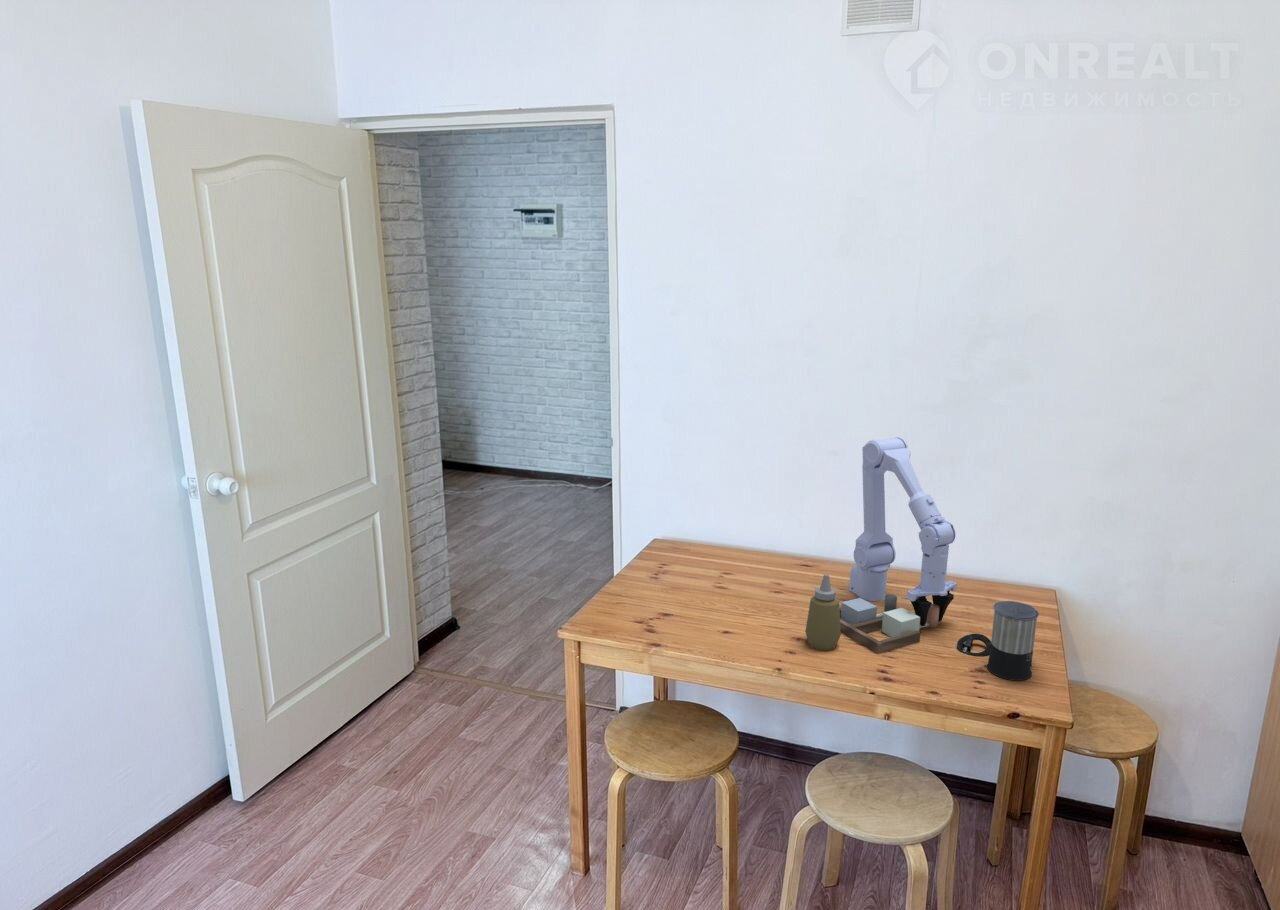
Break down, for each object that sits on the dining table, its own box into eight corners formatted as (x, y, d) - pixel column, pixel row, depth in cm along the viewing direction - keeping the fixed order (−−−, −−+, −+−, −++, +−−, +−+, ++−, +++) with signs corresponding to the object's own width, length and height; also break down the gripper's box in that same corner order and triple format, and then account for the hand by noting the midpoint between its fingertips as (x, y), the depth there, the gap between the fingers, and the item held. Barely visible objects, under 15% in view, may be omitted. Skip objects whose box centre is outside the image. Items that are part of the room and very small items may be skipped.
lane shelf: (821, 624, 204) (822, 611, 203) (904, 602, 216) (905, 591, 216) (877, 657, 187) (878, 644, 186) (964, 632, 200) (965, 619, 199)
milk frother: (1032, 685, 175) (1040, 621, 172) (953, 670, 181) (960, 608, 178) (1030, 656, 188) (1038, 596, 184) (957, 643, 194) (963, 585, 190)
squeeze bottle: (833, 658, 186) (837, 584, 182) (799, 649, 191) (803, 577, 186) (844, 644, 193) (849, 573, 189) (811, 636, 197) (815, 566, 193)
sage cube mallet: (881, 631, 198) (883, 612, 197) (926, 619, 205) (928, 600, 203) (899, 641, 193) (901, 622, 191) (945, 628, 199) (947, 609, 198)
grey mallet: (840, 620, 204) (841, 602, 202) (885, 609, 210) (886, 591, 209) (856, 630, 198) (858, 611, 197) (902, 618, 205) (904, 599, 204)
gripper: (924, 581, 191) (919, 634, 194) (968, 570, 197) (963, 622, 200) (902, 571, 197) (897, 623, 200) (945, 561, 203) (940, 611, 206)
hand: (929, 622), depth 201 cm, fingers closed on sage cube mallet, 5 cm apart
